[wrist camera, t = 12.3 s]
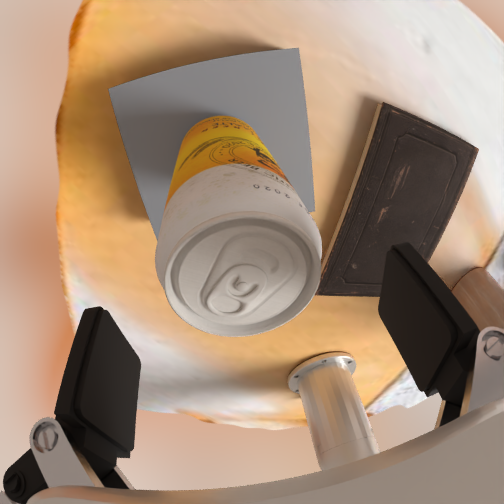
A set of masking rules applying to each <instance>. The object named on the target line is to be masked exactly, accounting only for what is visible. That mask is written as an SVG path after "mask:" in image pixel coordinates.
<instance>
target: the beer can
mask: <svg viewBox="0 0 504 504" xmlns="http://www.w3.org/2000/svg"><path fill="white" fill-rule="evenodd" d="M321 256H322V242H321V236H320V232H319V230H318V227H317V225H316V223H315V221H314V220H313V218H312V216H311V215H310V213H309V212H308V210H307V208H306V207H305V205H304V204H303V202H302V201H301V199H300V197H299V196H298V194H297V193H296V191H295V190H294V188H293V187H292V185H291V184H290V182H289V181H288V179H287V178H286V176H285V175H284V173H283V172H282V170H281V169H280V167H279V166H278V164H277V163H276V161H275V160H274V158H273V157H272V155H271V154H270V152H269V151H268V149H267V148H266V147H265V145H264V144H263V142H262V141H261V139H260V138H259V137H258V135H257V134H256V132H255V131H254V130H253V129H252V127H250V126H249V125H248V124H247V123H245V122H244V121H242V120H240V119H238V118H235V117H231V116H213V117H209V118H206V119H204V120H202V121H200V122H198V123H197V124H195V125H194V126H193V127H192V128H191V129H190V130H189V131H188V132H187V134H186V135H185V137H184V139H183V141H182V144H181V147H180V150H179V154H178V158H177V161H176V165H175V169H174V173H173V177H172V181H171V185H170V189H169V193H168V197H167V201H166V205H165V210H164V214H163V219H162V223H161V228H160V232H159V237H158V242H157V247H156V254H155V265H156V271H157V276H158V278H159V281H160V283H161V285H162V287H163V289H164V290H165V294H166V297H167V300H168V302H169V304H170V305H171V307H172V309H173V310H174V311H175V313H176V314H177V315H178V316H179V317H180V318H181V319H183V320H184V321H185V322H186V323H188V324H189V325H191V326H193V327H195V328H197V329H199V330H201V331H204V332H206V333H210V334H214V335H219V336H227V337H242V336H251V335H256V334H261V333H264V332H267V331H270V330H273V329H275V328H277V327H280V326H282V325H283V324H285V323H287V322H289V321H290V320H292V319H293V318H294V317H296V316H297V315H298V314H299V313H300V312H301V311H302V310H303V309H304V308H305V307H306V306H307V305H308V304H309V303H310V301H311V300H312V298H313V297H314V295H315V293H316V291H317V289H318V286H319V283H320V278H321Z"/></svg>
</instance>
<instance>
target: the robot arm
mask: <svg viewBox="0 0 504 504" xmlns="http://www.w3.org/2000/svg"><path fill="white" fill-rule="evenodd" d="M378 311H379V315H380V318H381V319H382V321H383V323H384V325H385V326H386V328H387V330H388V332H389V334H390V335H391V337H392V339H393V341H394V343H395V345H396V346H397V348H398V350H399V352H400V354H401V356H402V358H403V360H404V362H405V363H406V365H407V367H408V369H409V371H410V373H411V375H412V377H413V379H414V381H415V383H416V385H417V387H418V389H419V390H420V391H422V392H423V391H424V392H425V394H426V396H427V397H429V396H432V395H434V394H436V393H438V392H439V394H440V396H441V398H442V403H441V407H440V410H439V414H438V418H437V422H436V425H435V428H434V430H432V431H431V432H428V433H426V434H424V435H422V436H419V437H417V438H415V439H413V440H410V441H408V442H406V443H403V444H401V445H398V446H396V447H393V448H391V449H389V450H386V451H383V452H380V450H379V447H378V445H377V442H376V439H375V436H374V433H373V431H372V428H371V425H370V422H369V420H368V417H367V414H366V412H365V409H364V406H363V404H362V401H361V398H360V396H359V393H358V391H357V388H356V386H355V383H354V380H353V378H352V374H353V373H354V371H355V369H356V362H355V359H354V358H353V356H351V355H350V354H347V353H343V352H333V353H327V354H322V355H319V356H316V357H313V358H311V359H309V360H307V361H305V362H303V363H301V364H300V365H299V366H297V367H296V368H295V369H294V370H293V371H292V372H291V373H290V375H289V377H288V381H287V382H288V386H289V388H290V390H292V391H293V392H295V393H298V394H300V396H301V400H302V404H303V407H304V411H305V415H306V418H307V422H308V426H309V429H310V433H311V437H312V441H313V445H314V448H315V451H316V456H317V459H318V463H319V466H320V468H321V470H322V471H320V472H316V473H312V474H307V475H303V476H299V477H294V478H289V479H285V480H279V481H274V482H267V483H261V484H254V485H247V486H240V487H230V488H219V489H205V490H184V491H183V490H181V491H159V490H156V491H155V490H136V489H135V488H134V487H133V486H132V484H131V483H130V482H129V481H128V479H127V478H126V477H125V475H124V474H123V473H122V471H121V470H120V469H119V467H118V466H117V465H116V460H117V457H118V458H130V451H132V450H133V449H134V440H135V423H136V410H137V399H138V388H139V379H140V370H141V362H140V359H139V357H138V355H137V354H136V353H135V351H134V350H133V348H132V347H131V345H130V344H129V342H128V341H127V340H126V338H125V337H124V335H123V334H122V332H121V330H120V329H119V327H118V326H117V324H116V323H115V321H114V320H113V318H112V317H111V315H110V313H109V312H108V311H107V310H104V309H103V308H102V307H93V308H88V309H85V310H84V312H83V314H82V317H81V320H80V323H79V326H78V329H77V332H76V335H75V338H74V341H73V344H72V348H71V351H70V354H69V357H68V361H67V365H66V368H65V371H64V375H63V379H62V383H61V386H60V390H59V394H58V399H57V403H56V407H55V411H54V414H55V415H56V417H55V419H53V418H49V417H47V418H43V419H41V420H39V421H38V422H37V423H36V424H35V425H34V427H33V428H32V430H31V433H30V445H31V448H30V449H29V450H28V451H27V452H26V453H25V454H24V455H23V456H21V457H20V458H19V459H18V460H17V461H16V462H15V463H14V464H13V465H12V466H10V467H9V468H8V469H7V471H6V472H5V475H4V479H3V486H4V490H5V492H4V491H1V493H0V504H504V330H503V329H501V328H499V327H492V326H491V327H487V328H485V329H483V330H482V331H481V332H480V330H479V329H478V326H477V325H476V323H475V322H474V321H473V319H472V318H471V317H470V315H469V314H468V313H467V311H466V310H465V309H464V307H463V306H462V305H461V303H460V302H459V301H458V299H457V298H456V297H455V296H454V294H453V293H452V292H451V291H450V289H449V288H448V287H447V286H446V285H445V283H444V282H443V281H442V280H441V278H440V277H439V276H438V275H437V274H436V272H435V271H434V270H433V269H432V268H431V267H430V265H429V264H428V263H427V262H426V261H425V260H424V259H423V257H422V256H421V255H420V254H419V253H418V252H417V251H416V250H415V248H414V247H413V246H412V245H411V244H410V243H409V242H403V243H399V244H395V245H392V246H391V248H390V250H389V251H387V253H386V260H385V268H384V275H383V282H382V288H381V294H380V300H379V306H378Z"/></svg>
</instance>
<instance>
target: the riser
mask: <svg viewBox="0 0 504 504" xmlns="http://www.w3.org/2000/svg"><path fill="white" fill-rule="evenodd" d="M108 90H109V94H110V98H111V102H112V105H113V109H114V113H115V116H116V120H117V123H118V127H119V130H120V133H121V137H122V140H123V143H124V146H125V150H126V153H127V156H128V159H129V162H130V165H131V168H132V171H133V174H134V177H135V180H136V183H137V186H138V189H139V192H140V195H141V198H142V200H143V203H144V206H145V209H146V212H147V214H148V217H149V220H150V222H151V225H152V228H153V230H154V233H155V236H156V238H157V241H158V237H159V232H160V228H161V223H162V219H163V214H164V210H165V205H166V201H167V197H168V193H169V189H170V185H171V181H172V177H173V173H174V169H175V165H176V161H177V158H178V154H179V150H180V147H181V144H182V141H183V139H184V137H185V135H186V134H187V132H188V131H189V130H190V129H191V128H192V127H193V126H194V125H195V124H197V123H198V122H200V121H202V120H204V119H206V118H209V117H213V116H231V117H235V118H238V119H240V120H242V121H244V122H245V123H247V124H248V125H249V126H250V127H252V129H253V130H254V131H255V132H256V134H257V135H258V137H259V138H260V139H261V141H262V142H263V144H264V145H265V147H266V148H267V149H268V151H269V152H270V154H271V155H272V157H273V158H274V160H275V161H276V163H277V164H278V166H279V167H280V169H281V170H282V172H283V173H284V175H285V176H286V178H287V179H288V181H289V182H290V184H291V185H292V187H293V188H294V190H295V191H296V193H297V194H298V196H299V197H300V199H301V201H302V202H303V204H304V205H305V207H306V208H307V210H308V212H313V211H315V202H314V187H313V173H312V160H311V148H310V137H309V127H308V117H307V108H306V99H305V91H304V83H303V75H302V68H301V61H300V54H299V48H292V49H280V50H270V51H262V52H254V53H247V54H240V55H234V56H228V57H223V58H217V59H212V60H207V61H203V62H198V63H194V64H189V65H185V66H181V67H177V68H173V69H169V70H166V71H162V72H158V73H155V74H152V75H148V76H145V77H142V78H139V79H135V80H132V81H129V82H126V83H123V84H121V85H118V86H115V87H112V88H109V89H108Z"/></svg>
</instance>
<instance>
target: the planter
mask: <svg viewBox="0 0 504 504" xmlns="http://www.w3.org/2000/svg"><path fill="white" fill-rule="evenodd" d="M452 293H453V294H454V296H455V297H456V298H457V299H458V301H459V302H460V303H461V305H462V306H463V307H464V309H465V310H466V311H467V313H468V314H469V315H470V317H471V318H472V319H473V321H474V322H475V323H476V325H477V326H478V329H479V330H480V332H481V331H482V330H483V329H485V328H487V327H491V326H492V327H499V328H501V329H503V330H504V290H503V289H502V288H501V286H500V285H499V284H498V283H497V282H496V281H495V279H494V278H493V277H492V276H491V275H490V274H489V273H488V272H487V271H486V270H485V269H484V268H476V269H473V270H471V271H470V272H468V273H467V274H466V275H464V276H463V277H462V278H461V279H460V280H459V281H458V283H457V284H456V285H455V287H454V288H453V290H452Z"/></svg>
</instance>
